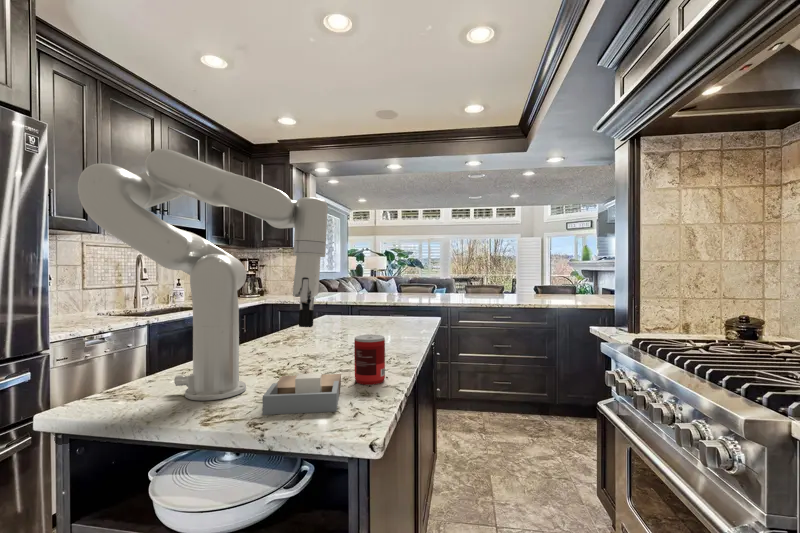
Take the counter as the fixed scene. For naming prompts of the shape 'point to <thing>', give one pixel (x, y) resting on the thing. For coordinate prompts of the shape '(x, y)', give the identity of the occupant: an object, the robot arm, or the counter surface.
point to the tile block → (308, 383)
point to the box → (300, 401)
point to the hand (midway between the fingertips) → (305, 326)
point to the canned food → (369, 359)
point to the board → (288, 383)
